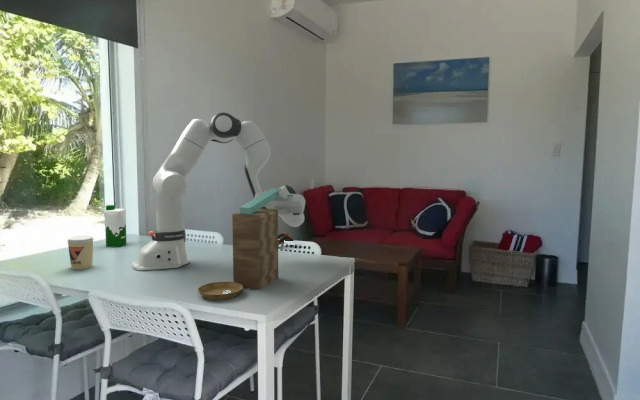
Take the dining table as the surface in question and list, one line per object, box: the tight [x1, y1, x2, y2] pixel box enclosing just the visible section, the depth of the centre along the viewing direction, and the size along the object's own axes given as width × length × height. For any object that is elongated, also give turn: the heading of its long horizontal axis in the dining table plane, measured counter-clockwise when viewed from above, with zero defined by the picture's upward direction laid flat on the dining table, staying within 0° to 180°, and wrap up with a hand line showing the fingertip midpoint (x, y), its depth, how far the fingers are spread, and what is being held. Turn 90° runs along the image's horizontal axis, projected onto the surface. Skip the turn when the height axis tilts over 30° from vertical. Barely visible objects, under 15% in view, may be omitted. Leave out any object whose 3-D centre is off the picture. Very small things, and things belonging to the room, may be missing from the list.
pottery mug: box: [278, 232, 295, 246], centre depth 231 cm, size 12×10×8 cm
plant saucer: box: [197, 281, 244, 301], centre depth 156 cm, size 15×15×3 cm
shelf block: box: [231, 209, 279, 291], centre depth 169 cm, size 16×10×26 cm, turn 161°
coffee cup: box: [67, 235, 94, 270], centre depth 190 cm, size 9×9×12 cm
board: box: [239, 187, 281, 215], centre depth 172 cm, size 26×4×2 cm, turn 161°
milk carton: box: [103, 204, 127, 248], centre depth 231 cm, size 9×9×20 cm
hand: (272, 191), depth 180 cm, fingers closed on board, 4 cm apart
